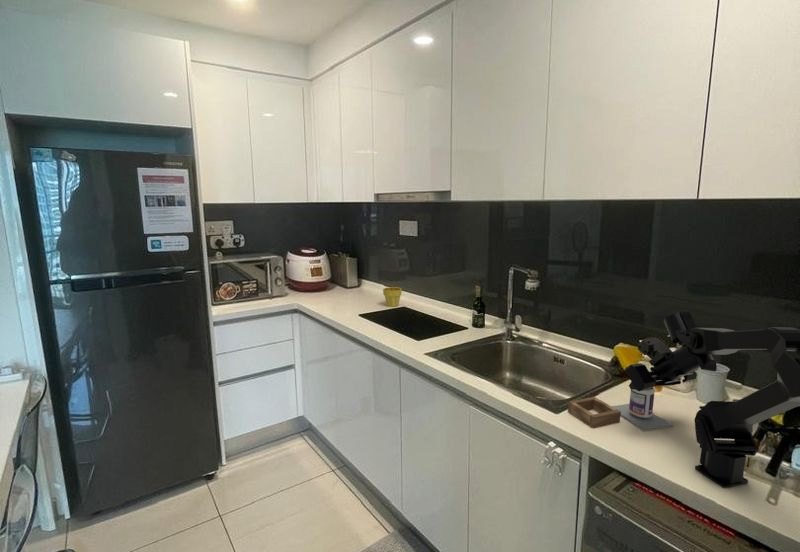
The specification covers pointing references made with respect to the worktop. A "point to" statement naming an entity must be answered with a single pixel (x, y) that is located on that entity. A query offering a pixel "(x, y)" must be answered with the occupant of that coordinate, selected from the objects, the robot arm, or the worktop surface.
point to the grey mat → (642, 419)
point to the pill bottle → (641, 403)
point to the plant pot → (392, 296)
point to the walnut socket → (581, 408)
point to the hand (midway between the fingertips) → (638, 385)
